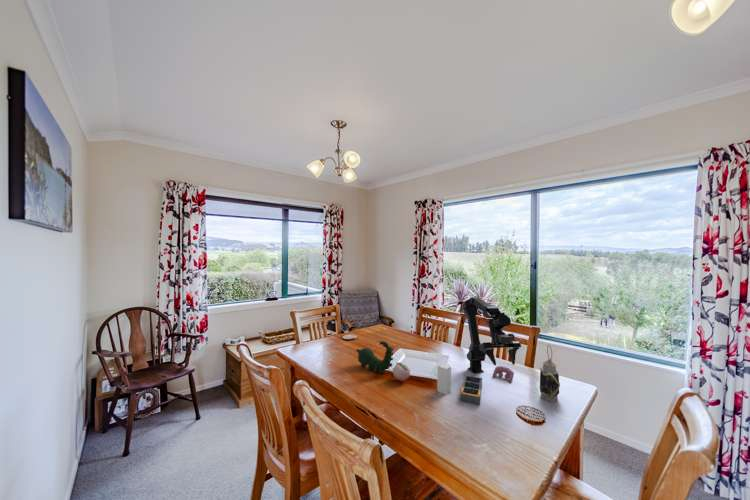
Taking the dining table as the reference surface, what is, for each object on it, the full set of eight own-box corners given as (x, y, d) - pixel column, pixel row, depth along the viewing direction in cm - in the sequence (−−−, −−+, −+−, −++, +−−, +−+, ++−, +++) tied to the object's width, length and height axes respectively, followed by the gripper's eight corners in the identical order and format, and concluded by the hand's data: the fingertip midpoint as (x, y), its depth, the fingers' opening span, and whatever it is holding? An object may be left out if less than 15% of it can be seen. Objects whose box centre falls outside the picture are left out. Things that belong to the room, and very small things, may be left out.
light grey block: (441, 388, 141) (441, 363, 141) (450, 391, 138) (450, 366, 137) (437, 391, 138) (437, 365, 138) (446, 395, 135) (446, 369, 135)
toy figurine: (394, 374, 160) (359, 360, 174) (397, 342, 159) (362, 330, 173) (385, 380, 152) (350, 365, 167) (388, 346, 151) (352, 334, 165)
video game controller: (513, 383, 149) (515, 370, 152) (511, 382, 146) (513, 368, 149) (494, 377, 156) (496, 364, 158) (491, 376, 153) (494, 363, 155)
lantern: (537, 392, 138) (537, 341, 137) (556, 394, 135) (556, 343, 135) (542, 401, 129) (542, 347, 129) (562, 404, 127) (563, 349, 127)
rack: (464, 381, 148) (464, 374, 148) (482, 384, 145) (482, 377, 145) (460, 401, 129) (460, 392, 129) (480, 405, 126) (480, 396, 126)
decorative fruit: (389, 381, 149) (389, 362, 148) (398, 375, 155) (398, 357, 154) (403, 387, 142) (403, 367, 142) (412, 381, 148) (412, 362, 148)
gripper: (485, 328, 131) (493, 363, 124) (522, 326, 133) (533, 361, 126) (475, 333, 141) (482, 366, 134) (510, 332, 143) (519, 364, 136)
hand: (504, 364), depth 132 cm, fingers open, 9 cm apart
